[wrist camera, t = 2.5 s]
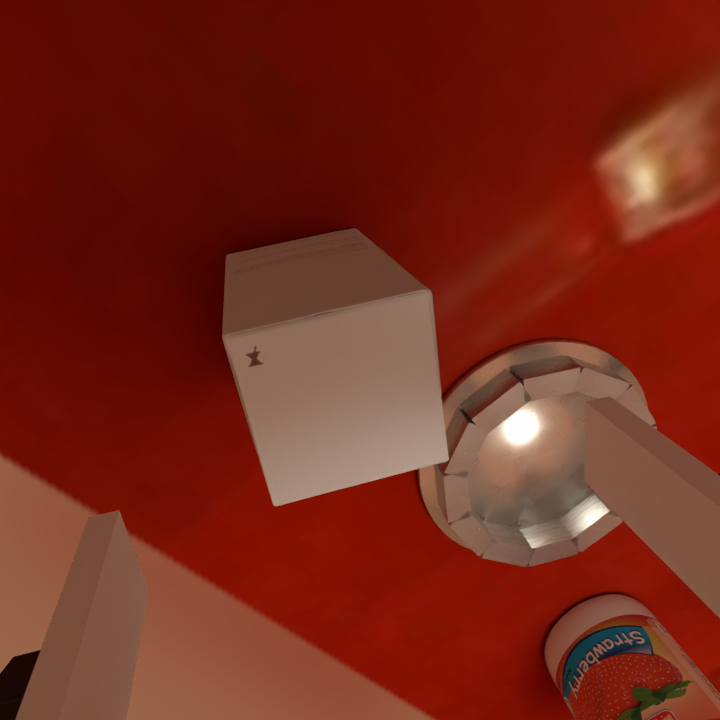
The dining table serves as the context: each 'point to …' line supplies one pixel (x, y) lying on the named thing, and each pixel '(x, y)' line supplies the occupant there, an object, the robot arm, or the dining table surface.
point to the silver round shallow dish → (526, 452)
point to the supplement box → (333, 363)
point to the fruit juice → (625, 665)
